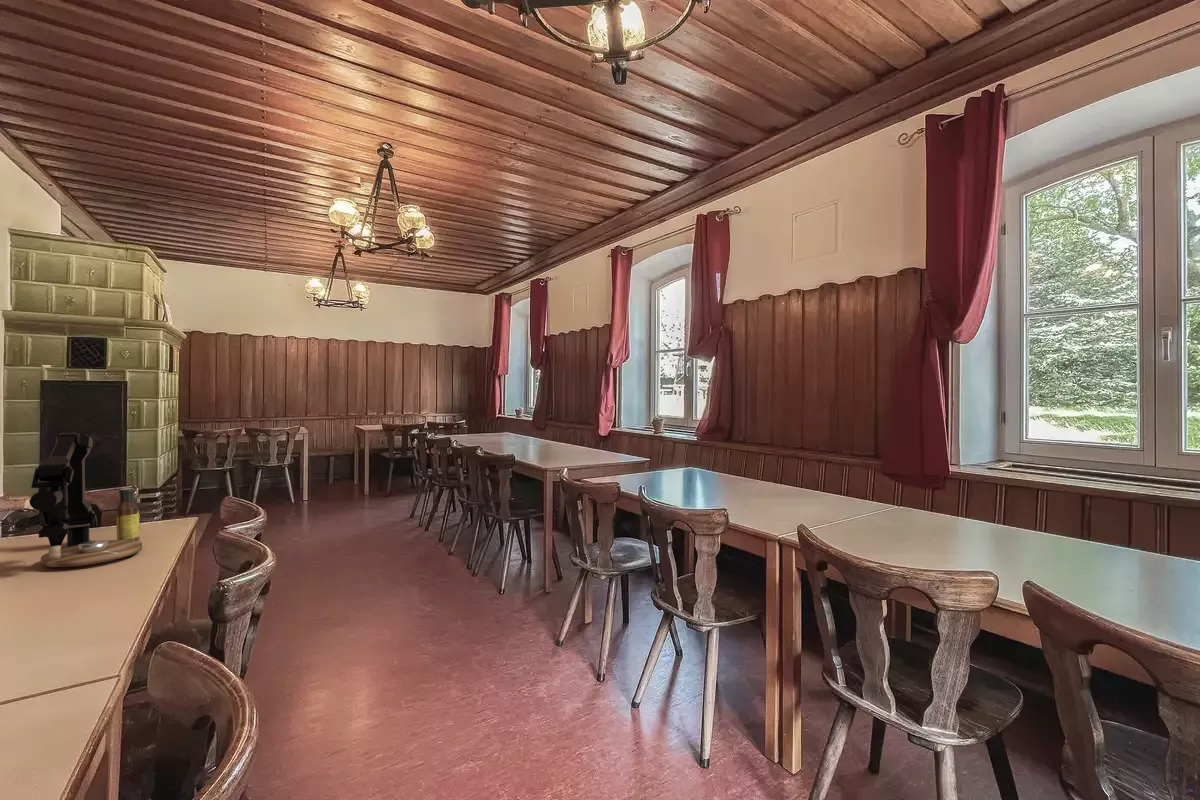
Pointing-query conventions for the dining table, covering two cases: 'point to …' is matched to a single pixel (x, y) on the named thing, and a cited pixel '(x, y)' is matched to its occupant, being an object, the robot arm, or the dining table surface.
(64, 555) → the turntable
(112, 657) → the dining table surface
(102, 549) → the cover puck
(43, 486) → the robot arm
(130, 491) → the sauce bottle
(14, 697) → the dining table surface
